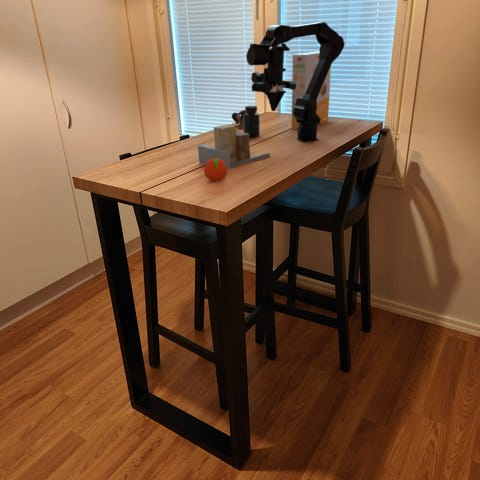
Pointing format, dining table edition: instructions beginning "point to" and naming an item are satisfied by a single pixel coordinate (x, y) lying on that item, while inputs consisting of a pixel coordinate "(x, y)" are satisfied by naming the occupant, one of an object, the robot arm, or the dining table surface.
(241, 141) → the walnut block
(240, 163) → the backstop rail
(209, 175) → the red rounded fruit
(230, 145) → the skincare box
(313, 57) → the cereal box
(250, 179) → the dining table surface
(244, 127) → the supplement bottle
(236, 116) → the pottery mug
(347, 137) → the dining table surface
